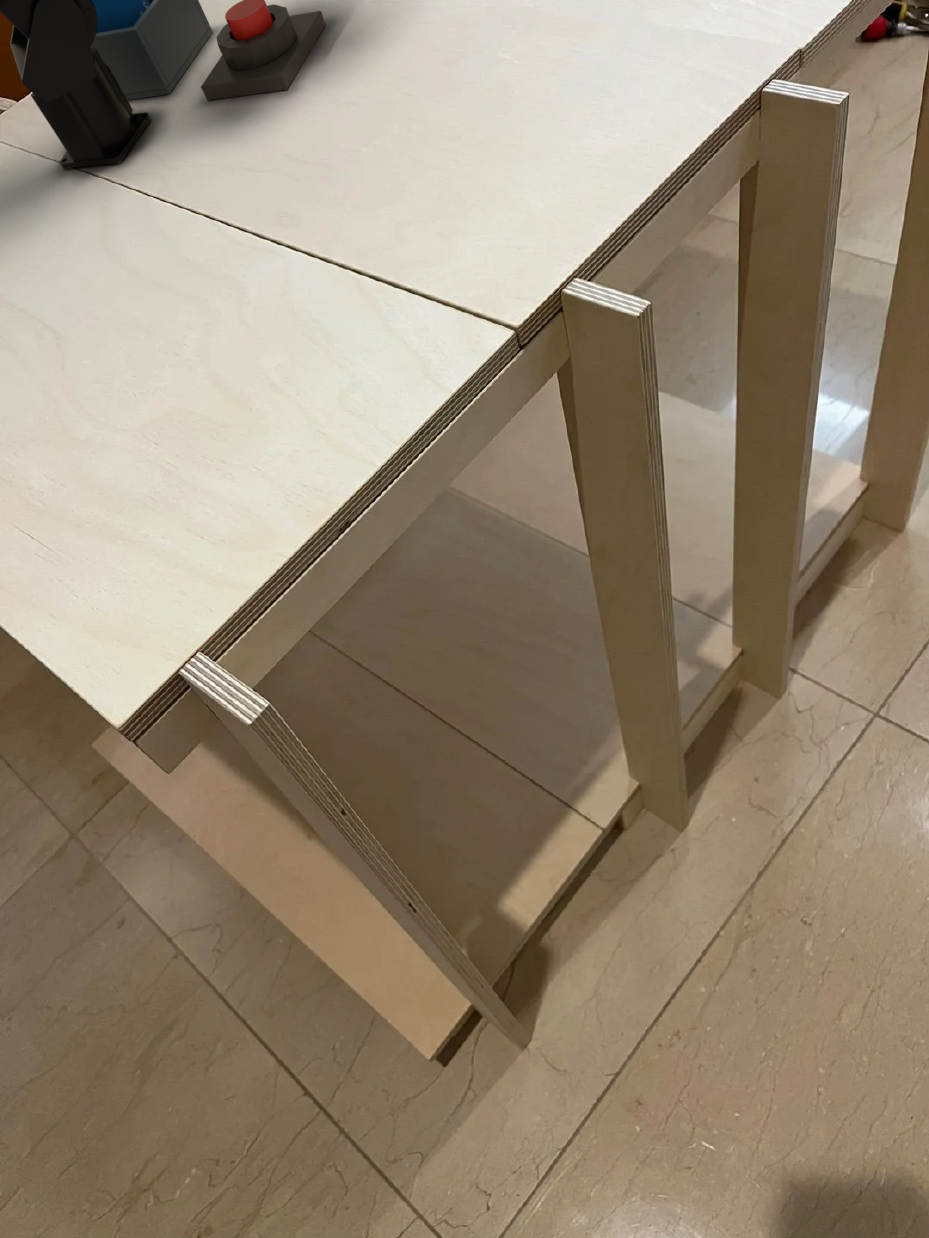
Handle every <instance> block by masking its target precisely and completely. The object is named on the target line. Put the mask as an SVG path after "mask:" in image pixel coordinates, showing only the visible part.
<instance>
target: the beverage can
mask: <svg viewBox="0 0 929 1238" xmlns="http://www.w3.org/2000/svg"><path fill="white" fill-rule="evenodd" d="M93 2H94V5H95V9H96V13H97V18H98V25H97V33H101V32H107V31H113V30H118V29H124V28H130V27H133V26H134V25H135V24H136V22H137V21H138V20H139V18H140V17H141V16H142V15H143V13H144V12H145V11H146V9H147V8H148V7H149V6H150V2H149V0H93Z"/></svg>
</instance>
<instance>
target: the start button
mask: <svg viewBox="0 0 929 1238" xmlns="http://www.w3.org/2000/svg"><path fill="white" fill-rule="evenodd" d="M224 18H225V21H226V24H228V25H229V28H230V30H231V32H232V34H233V37H234V39H235V40H236V41H238V40H245V39H250V38H252V37H254V36H257V35H259V34H261V33H263V32H264V31H266V30H267V29H268V28H270V27H271V25H272V24H273V20H272V17H271V15H270V12H269V10H268V7H267V3H266V1H265V0H241V1H238V2H237V3H235V4H234V5H232V6H230V8H228V9H227V11H226V13H225V16H224Z"/></svg>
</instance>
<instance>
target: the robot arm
mask: <svg viewBox="0 0 929 1238" xmlns="http://www.w3.org/2000/svg"><path fill="white" fill-rule="evenodd" d="M0 13H1V14H2V15H3V16H4V17H5V18H6V19H7V20H8V21H9V22H10V23H11V25H12V30H11V36H10V42H9V46H10V48H11V52H12V55H13V58H14V60H15V64H16V67H17V70H18V73H19V76H20V80H21V82H22V85H23V86H24V87H25V88H26V89H27V90H29V91H30V92H31V94H30V97H31V98H32V101H34V103H35V105H36V106H37V107H38V109H39V111H40V112H41V114H42V115H43V117H44V118H45V120H46V121H47V123H48V125H49V126H50V128H51V129H52V131H53V132H54V134H55V135H56V137H57V138H58V140H59V142H60V143H61V144H62V146H63V148H64V149H65V151H66V152H65V154H64V155H62V158H61V159H60V160H59V165H60V166H61V168H62V169H71V168H81V167H89V166H90V167H91V166H98V165H108V164H117V163H119V162H121V161H123V159H124V158H125V157H126V155H127V154H128V152H129V151H130V149H131V148H132V147H133V145H134V144H135V142H136V141H137V140H138V138H139V136H140V135H141V134H142V133H143V131H144V130H145V128H146V127H147V125H148V124H149V122H150V121H151V119H152V118H151V115H150V114H149V113H148V112H138V113H133V112H134V109H133V107H132V106H131V104H130V101H129V100H127V98H126V97H125V95H124V93H123V91H122V90H121V88H120V86H119V84H118V82H117V81H116V79H115V77H114V75H113V74H112V72H111V70H110V68H109V67H108V65H107V64H104V62H103V60H102V58H101V56H100V55H99V53H98V51H97V49H96V48H93V49H91V47H90V45H91V44H92V43H93V41H94V38H95V36H96V33H97V25H98V18H97V13H96V9H95V5H94V2H93V0H0Z"/></svg>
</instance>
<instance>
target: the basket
mask: <svg viewBox="0 0 929 1238" xmlns="http://www.w3.org/2000/svg"><path fill="white" fill-rule="evenodd" d="M149 2H150V6H149V7H148V8H147V9H146V11H145V12H144V13H143V15H142V16H141V17H140V18H139V20H138V21H137V22H136V24H135V25H134V26H133V27H130V28H124V29H118V30H113V31H107V32H101V33H96V36H95V38H94V41H93V43H92V44H91V45H90V47H91V49H93V48H96V49H97V51H98V53H99V55H100V56H101V58H102V60H103V62H104V64H107V65H108V67H109V68H110V70H111V72H112V74H113V75H114V77H115V79H116V81H117V82H118V84H119V86H120V88H121V90H122V91H123V93H124V95H125V97H126V98H127V100H128V101H131V100H137V99H146V98H152V97H160V96H167V95H170V94H171V92H172V91H173V90H174V88H175V87H176V86H177V84H178V83H179V81H180V80H181V78H182V77H183V75H184V74H185V73H186V71H187V70H188V68H189V67H190V65H191V64H192V63H193V61H194V59H196V57H197V56H198V54H199V52H200V51H201V49H202V48H203V47H204V45H205V44H206V42H207V41H208V40H209V38H210V37H211V36H212V34H213V33H214V31H213V29H212V26H211V24H210V22H209V20H208V18H207V16H206V13H205V11H204V9H203V7H202V5H201V3H200V0H149Z"/></svg>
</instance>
